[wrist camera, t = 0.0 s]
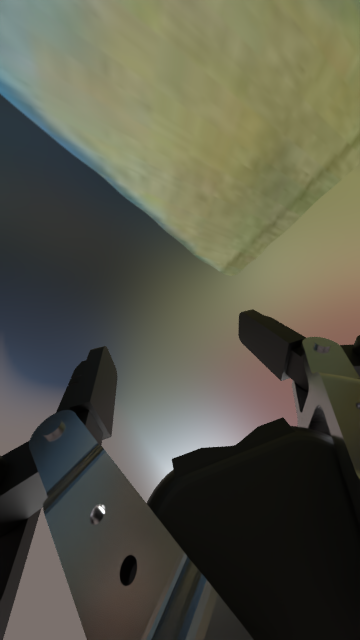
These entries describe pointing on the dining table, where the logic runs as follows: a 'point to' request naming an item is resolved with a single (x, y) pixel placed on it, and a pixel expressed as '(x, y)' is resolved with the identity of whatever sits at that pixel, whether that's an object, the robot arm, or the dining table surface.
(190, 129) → the dining table surface
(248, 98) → the dining table surface
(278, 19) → the dining table surface
